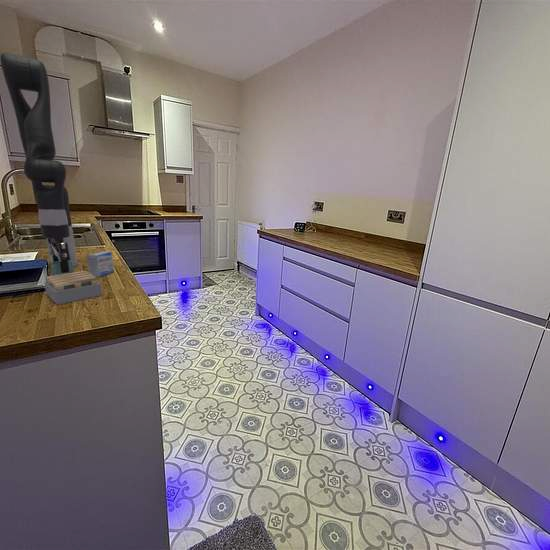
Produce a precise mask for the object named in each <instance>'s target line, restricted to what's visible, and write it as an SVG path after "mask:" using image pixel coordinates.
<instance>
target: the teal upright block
mask: <svg viewBox="0 0 550 550" xmlns="http://www.w3.org/2000/svg"><path fill="white" fill-rule="evenodd" d="M68 265H69V272H66V273H62V272H61V268H60V262H59V261H55V262H51V261H50V266H51V267H50V268H51V273H52V276H54V275H60V274H67V273H74V267H73V266H72V262H70V261H68Z"/></svg>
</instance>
